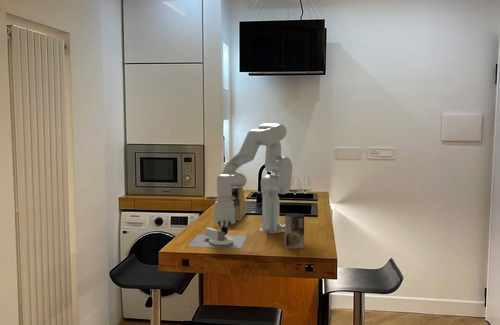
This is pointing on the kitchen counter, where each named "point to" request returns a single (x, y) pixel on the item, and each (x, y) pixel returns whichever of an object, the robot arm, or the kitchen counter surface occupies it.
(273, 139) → the robot arm
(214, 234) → the dial
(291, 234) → the coffee box
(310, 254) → the kitchen counter surface
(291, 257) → the kitchen counter surface
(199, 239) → the dial board
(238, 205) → the knife block
